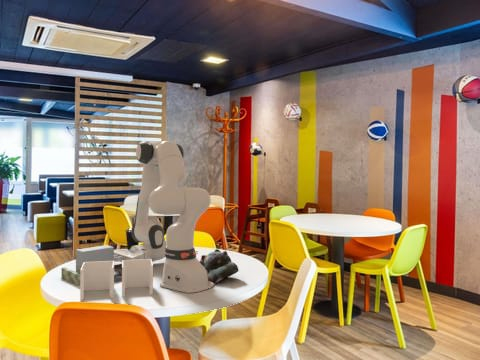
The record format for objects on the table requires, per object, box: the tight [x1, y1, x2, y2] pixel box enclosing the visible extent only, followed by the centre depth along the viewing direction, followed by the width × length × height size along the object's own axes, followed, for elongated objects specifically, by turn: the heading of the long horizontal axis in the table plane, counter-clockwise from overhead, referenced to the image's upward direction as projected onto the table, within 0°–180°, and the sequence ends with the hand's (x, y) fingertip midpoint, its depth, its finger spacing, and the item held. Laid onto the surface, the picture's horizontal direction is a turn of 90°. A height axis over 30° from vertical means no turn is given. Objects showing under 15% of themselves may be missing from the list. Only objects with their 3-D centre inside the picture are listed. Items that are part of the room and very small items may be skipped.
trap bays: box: [114, 271, 122, 283], centre depth 170 cm, size 28×9×2 cm, turn 48°
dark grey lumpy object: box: [198, 248, 240, 284], centre depth 165 cm, size 15×12×14 cm
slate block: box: [75, 244, 115, 273], centre depth 166 cm, size 6×14×12 cm, turn 137°
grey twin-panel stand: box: [79, 259, 154, 301], centre depth 145 cm, size 25×11×11 cm, turn 106°
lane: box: [61, 263, 122, 286], centre depth 168 cm, size 16×27×4 cm, turn 138°
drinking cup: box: [124, 217, 140, 250], centre depth 205 cm, size 8×8×20 cm
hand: (110, 259), depth 172 cm, fingers closed, pressing on slate block
